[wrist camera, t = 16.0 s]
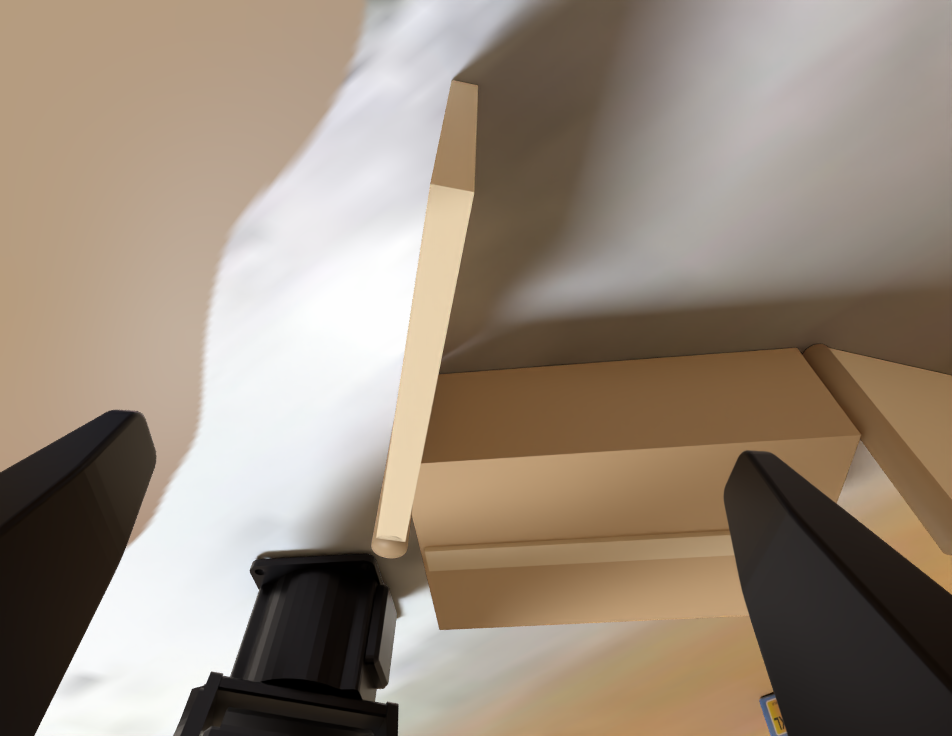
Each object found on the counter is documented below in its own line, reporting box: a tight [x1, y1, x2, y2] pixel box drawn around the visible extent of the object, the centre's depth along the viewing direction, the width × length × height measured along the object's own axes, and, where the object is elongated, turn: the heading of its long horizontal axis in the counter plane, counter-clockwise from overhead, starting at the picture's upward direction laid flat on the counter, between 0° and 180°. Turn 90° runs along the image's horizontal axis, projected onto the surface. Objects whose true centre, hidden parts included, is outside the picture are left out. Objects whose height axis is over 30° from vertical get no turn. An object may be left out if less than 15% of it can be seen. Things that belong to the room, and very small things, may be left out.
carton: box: [412, 348, 861, 630], centre depth 25 cm, size 15×10×5 cm, turn 96°
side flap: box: [371, 80, 478, 558], centre depth 18 cm, size 11×1×9 cm, turn 169°
